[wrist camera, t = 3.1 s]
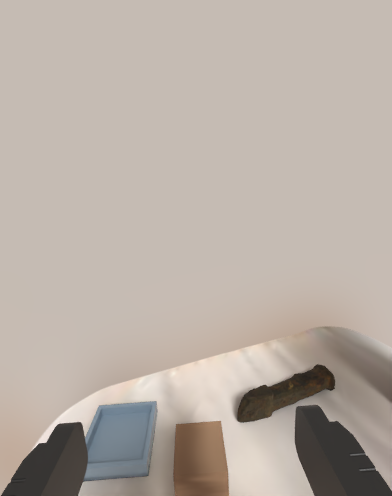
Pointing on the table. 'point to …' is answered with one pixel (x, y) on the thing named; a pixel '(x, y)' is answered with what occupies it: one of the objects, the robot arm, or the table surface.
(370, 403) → the table surface
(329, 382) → the brown rough rod
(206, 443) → the walnut block
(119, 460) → the tray
